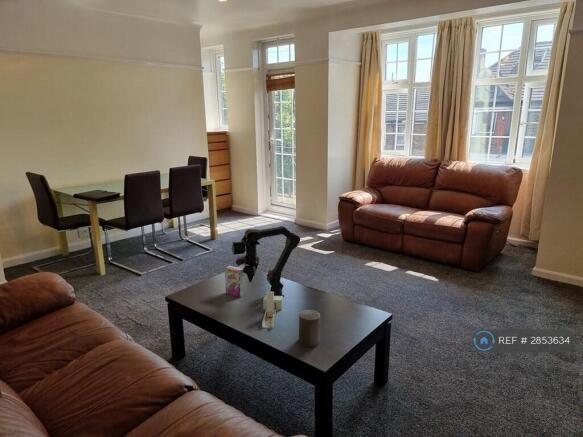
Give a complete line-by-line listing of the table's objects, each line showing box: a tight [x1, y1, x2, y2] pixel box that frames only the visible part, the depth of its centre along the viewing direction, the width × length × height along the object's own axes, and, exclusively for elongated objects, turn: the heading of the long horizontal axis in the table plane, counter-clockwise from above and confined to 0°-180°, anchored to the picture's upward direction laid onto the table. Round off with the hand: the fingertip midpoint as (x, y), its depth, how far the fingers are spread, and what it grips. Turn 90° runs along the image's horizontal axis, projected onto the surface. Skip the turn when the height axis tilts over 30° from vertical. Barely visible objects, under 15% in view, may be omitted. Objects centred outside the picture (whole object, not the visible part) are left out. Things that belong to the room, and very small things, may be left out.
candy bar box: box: [224, 265, 246, 298], centre depth 236 cm, size 11×5×16 cm, turn 58°
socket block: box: [262, 295, 284, 311], centre depth 220 cm, size 5×10×6 cm, turn 85°
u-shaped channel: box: [261, 309, 277, 330], centre depth 207 cm, size 14×5×3 cm, turn 175°
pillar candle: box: [298, 309, 321, 348], centre depth 187 cm, size 10×10×15 cm
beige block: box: [265, 290, 276, 317], centre depth 214 cm, size 12×4×13 cm, turn 175°
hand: (251, 279), depth 227 cm, fingers open, 9 cm apart
